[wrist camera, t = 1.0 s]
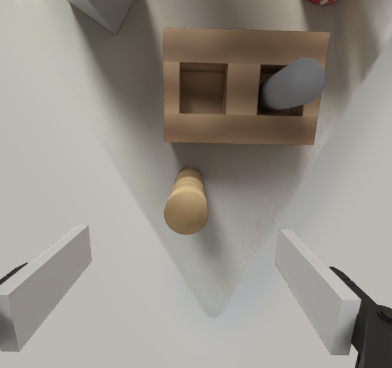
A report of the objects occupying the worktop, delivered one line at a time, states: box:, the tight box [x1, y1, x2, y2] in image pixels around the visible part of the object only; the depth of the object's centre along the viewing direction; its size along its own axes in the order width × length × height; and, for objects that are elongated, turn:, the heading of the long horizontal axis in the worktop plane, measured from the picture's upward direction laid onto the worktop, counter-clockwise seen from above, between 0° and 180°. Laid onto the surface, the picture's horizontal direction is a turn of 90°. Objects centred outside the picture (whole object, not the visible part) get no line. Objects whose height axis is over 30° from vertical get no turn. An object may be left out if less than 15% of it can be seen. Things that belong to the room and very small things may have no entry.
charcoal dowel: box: [257, 57, 325, 112], centre depth 24 cm, size 4×4×9 cm
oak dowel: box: [164, 167, 208, 235], centre depth 27 cm, size 4×4×14 cm
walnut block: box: [163, 28, 330, 145], centre depth 28 cm, size 12×18×6 cm, turn 89°
